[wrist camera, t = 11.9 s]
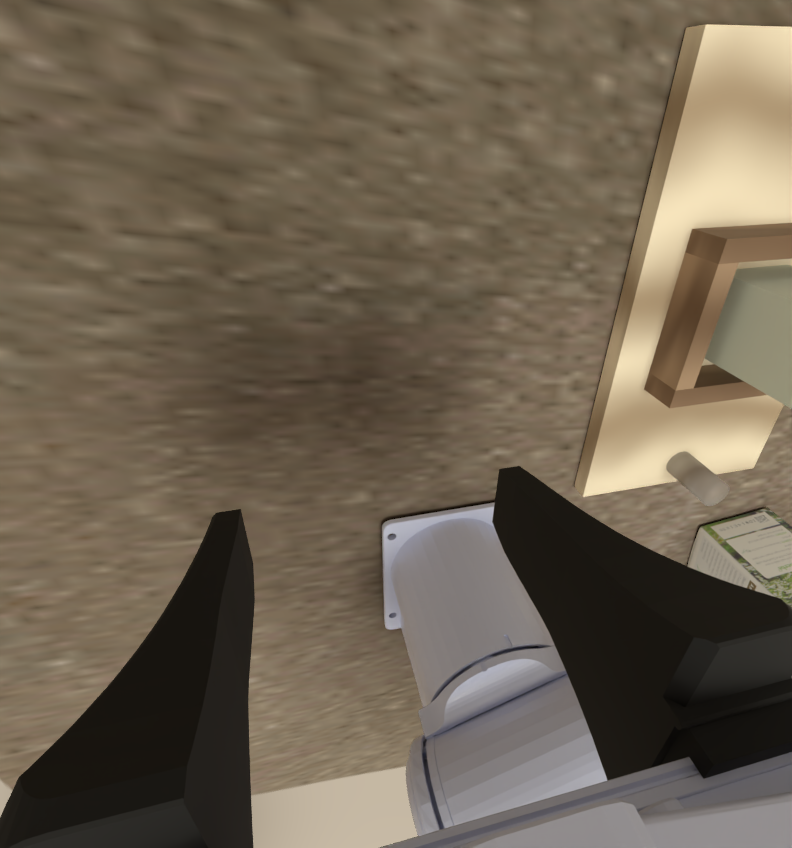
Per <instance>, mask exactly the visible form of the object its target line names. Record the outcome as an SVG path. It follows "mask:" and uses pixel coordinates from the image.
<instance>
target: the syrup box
mask: <svg viewBox="0 0 792 848" xmlns="http://www.w3.org/2000/svg"><path fill="white" fill-rule="evenodd" d="M687 567H690V568H692V569H695V570H697V571H700V572H702V573H705V574H707V575H710V576H713V577H716V578H718V579H721V580H724V581H727V582H729V583H732V584H735V585H738V586H741V587H745V588H748V589H751V590H754V591H758V592H761V593H764V594H767V595H771V596H774V597H777V598H780V599H782V600H783V601H784V602H785V603H786V604H787V605H788V606H789V607H790V608H791V609H792V527H791V526H790V525H789V524H787V523H786V522H785V521H784V520H783V519H781V518H780V517H779V516H777V515H776V514H775V513H774V512H772V511H771V510H770V509H768V508H764V509H761V510H757V511H754V512H750V513H747V514H743V515H740V516H736V517H733V518H729V519H726V520H722V521H718V522H715V523H711V524H708V525H704V526H701V527H700V528H699V531H698V533H697V536H696V538H695V541H694V544H693V548H692V551H691V554H690V558H689V561H688V565H687Z"/></svg>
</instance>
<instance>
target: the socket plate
mask: <svg viewBox="0 0 792 848" xmlns="http://www.w3.org/2000/svg"><path fill="white" fill-rule="evenodd" d="M777 265H790V266H792V27H777V26H742V25H707V24H706V25H700V26H694V27H688V28H686V30H685V35H684V39H683V43H682V47H681V51H680V55H679V59H678V63H677V67H676V71H675V76H674V80H673V84H672V88H671V92H670V96H669V100H668V104H667V108H666V112H665V116H664V121H663V125H662V129H661V133H660V137H659V141H658V145H657V149H656V153H655V157H654V162H653V166H652V170H651V174H650V178H649V182H648V186H647V190H646V194H645V198H644V202H643V207H642V211H641V215H640V219H639V223H638V227H637V231H636V235H635V239H634V243H633V248H632V252H631V256H630V260H629V264H628V268H627V272H626V276H625V280H624V284H623V288H622V293H621V297H620V301H619V305H618V309H617V313H616V317H615V321H614V325H613V329H612V333H611V338H610V342H609V346H608V350H607V354H606V358H605V362H604V366H603V370H602V374H601V379H600V383H599V387H598V391H597V395H596V399H595V403H594V407H593V411H592V415H591V419H590V424H589V428H588V432H587V436H586V440H585V444H584V448H583V452H582V456H581V460H580V465H579V469H578V473H577V477H576V481H575V485H574V487H575V488H576V489H577V490H578V492H579V493H580V494H581V495H582V496H583V497H586V496H591V495H597V494H603V493H609V492H615V491H621V490H627V489H633V488H639V487H645V486H650V485H656V484H662V483H668V482H674V481H679V482H680V483H681V484H682V485H683V486H684V487H686V488H687V489H688V490H689V491H690V492H691V493H692V494H693V495H694V496H695V497H697V498H698V499H699V500H700V501H701V502H702V503H703V504H704V505H706V506H712V505H715V504H717V503H719V502H720V501H722V500H723V499H724V498H725V497H726V496H727V494H728V492H729V485H728V484H727V483H725V482H724V481H723V480H722V479H720V478H719V477H718V476H717V475H716V474H721V473H727V472H733V471H739V470H745V469H751V468H754V466H755V463H756V461H757V459H758V457H759V455H760V453H761V451H762V449H763V447H764V445H765V443H766V441H767V439H768V436H769V434H770V432H771V430H772V428H773V426H774V424H775V422H776V420H777V418H778V416H779V414H780V412H781V409H782V407H783V405H784V404H782V403H781V402H779V401H777V400H775V399H774V398H772V397H770V396H769V395H767V394H765V393H763V392H762V391H760V390H758V389H756V388H755V387H753V386H751V385H750V384H748V383H746V382H744V381H743V380H741V379H739V378H737V377H736V376H734V375H732V374H730V373H729V372H727V371H725V370H724V369H722V368H720V367H718V366H717V365H715V364H713V363H711V362H710V361H708V360H706V359H705V355H706V353H707V350H708V347H709V344H710V341H711V339H712V336H713V333H714V330H715V328H716V325H717V322H718V319H719V317H720V314H721V311H722V308H723V305H724V303H725V300H726V297H727V294H728V292H729V289H730V286H731V283H732V281H733V278H734V275H735V272H736V269H743V268H755V267H766V266H777Z"/></svg>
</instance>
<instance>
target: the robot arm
mask: <svg viewBox="0 0 792 848" xmlns="http://www.w3.org/2000/svg"><path fill="white" fill-rule="evenodd" d="M389 534H393V535H389ZM382 555H383V595H384V623H385V627H386V628H387V629H389V630H392V629H397V628H401V629H402V632H403V636H404V640H405V643H406V647H407V651H408V654H409V658H410V662H411V665H412V669H413V672H414V676H415V680H416V683H417V687H418V691H419V694H420V698H421V702H422V705H423V708H421V709H420V710H419V711H418V713H419V716H420V720H421V724H422V728H423V732H424V735H421V736H419V737H417V738H415V739H414V740H413V742H412V744H411V748H410V754H409V757H408V760H407V765H406V783H407V791H408V797H409V803H410V808H411V812H412V816H413V820H414V824H415V828H416V831H417V834H418V836H417V837H414V838H411V839H407V840H404V841H401V842H397V843H393V844H390V845H387V846H383V847H380V848H792V609H791V608H790V607H789V606H788V605H787V604H786V603H785V602H784V601H783V600H782V599H780V598H777V597H774V596H771V595H767V594H764V593H761V592H758V591H754V590H751V589H748V588H745V587H741V586H738V585H735V584H732V583H729V582H727V581H724V580H721V579H718V578H716V577H713V576H710V575H707V574H705V573H702V572H700V571H697V570H695V569H692V568H690V567H687V566H685V565H683V564H680V563H678V562H676V561H674V560H671V559H669V558H667V557H665V556H662V555H660V554H658V553H656V552H654V551H652V550H650V549H648V548H646V547H644V546H642V545H640V544H638V543H636V542H634V541H632V540H631V539H629V538H627V537H625V536H623V535H621V534H620V533H618V532H616V531H614V530H613V529H611V528H609V527H608V526H606V525H604V524H603V523H601V522H600V521H598V520H596V519H595V518H593V517H592V516H590V515H588V514H587V513H585V512H584V511H582V510H581V509H579V508H578V507H576V506H575V505H573V504H572V503H571V502H569V501H568V500H566V499H565V498H563V497H562V496H560V495H559V494H558V493H556V492H555V491H553V490H552V489H551V488H549V487H548V486H547V485H545V484H544V483H542V482H541V481H540V480H538V479H537V478H535V477H534V476H533V475H531V474H530V473H528V472H527V471H526V470H524V469H523V468H521V467H520V466H517V467H511V468H504V469H499V476H498V483H497V491H496V498H495V502H494V503H488V504H482V505H476V506H470V507H464V508H458V509H452V510H446V511H440V512H434V513H428V514H422V515H416V516H410V517H404V518H398V519H392V520H388V521H386V522H384V524H383V525H382ZM254 601H255V598H254V574H253V561H252V557H251V553H250V548H249V544H248V539H247V535H246V531H245V526H244V522H243V518H242V513H241V509H238V510H232V511H225V512H219V513H216V514H215V515H214V516H213V517H212V520H211V522H210V525H209V527H208V530H207V532H206V535H205V537H204V539H203V541H202V543H201V545H200V548H199V550H198V552H197V554H196V556H195V558H194V560H193V562H192V564H191V565H190V567H189V569H188V571H187V573H186V575H185V577H184V579H183V580H182V582H181V584H180V586H179V587H178V589H177V591H176V592H175V594H174V596H173V597H172V599H171V601H170V602H169V604H168V606H167V607H166V609H165V611H164V612H163V614H162V615H161V617H160V618H159V620H158V621H157V623H156V624H155V626H154V627H153V629H152V630H151V631H150V633H149V634H148V636H147V637H146V638H145V640H144V641H143V643H142V644H141V645H140V647H139V648H138V649H137V651H136V652H135V653H134V654H133V656H132V657H131V658H130V660H129V661H128V662H127V663H126V665H125V666H124V667H123V669H122V670H121V671H120V672H119V674H118V675H117V676H116V677H115V678H114V680H113V681H112V682H111V683H110V684H109V686H108V687H107V688H106V689H105V690H104V691H103V692H102V693H101V695H100V696H99V697H98V698H97V699H96V700H95V701H94V702H93V703H92V704H91V706H90V707H89V708H88V709H87V710H86V711H85V712H84V713H83V714H82V715H81V717H80V718H79V719H78V720H77V721H76V722H75V723H74V724H73V725H72V726H71V727H70V728H69V729H68V730H67V731H66V732H65V734H63V735H62V736H61V737H60V738H59V739H58V740H57V741H56V742H55V743H54V744H53V745H52V746H51V747H50V748H49V749H48V750H47V751H46V752H45V753H44V754H43V755H42V756H41V757H40V758H39V759H38V760H37V761H36V762H35V763H34V764H33V765H32V766H31V767H30V768H29V769H28V770H26V771H25V772H24V773H23V774H22V775H21V776H20V777H19V778H18V780H17V782H16V785H15V787H14V789H13V791H12V793H11V796H10V798H9V800H8V802H7V804H6V806H5V808H4V811H3V813H2V815H1V817H0V848H253V835H252V811H251V786H250V756H249V718H248V688H249V671H250V657H251V644H252V630H253V616H254Z"/></svg>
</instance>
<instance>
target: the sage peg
mask: <svg viewBox="0 0 792 848" xmlns="http://www.w3.org/2000/svg"><path fill="white" fill-rule="evenodd" d="M705 359H706V360H708V361H710V362H711V363H713V364H715V365H717V366H718V367H720V368H722V369H724V370H725V371H727V372H729V373H730V374H732V375H734V376H736V377H737V378H739V379H741V380H743V381H744V382H746V383H748V384H750V385H751V386H753V387H755V388H756V389H758V390H760V391H762V392H763V393H765V394H767V395H769V396H770V397H772V398H774V399H775V400H777V401H779V402H781V403H782V404H784V405H786V406H788V407H789V408H791V409H792V266H790V265H777V266H766V267H755V268H743V269H736V272H735V275H734V278H733V281H732V283H731V286H730V289H729V292H728V294H727V297H726V300H725V303H724V305H723V308H722V311H721V314H720V317H719V319H718V322H717V325H716V328H715V330H714V333H713V336H712V339H711V341H710V344H709V347H708V350H707V353H706V355H705Z"/></svg>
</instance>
